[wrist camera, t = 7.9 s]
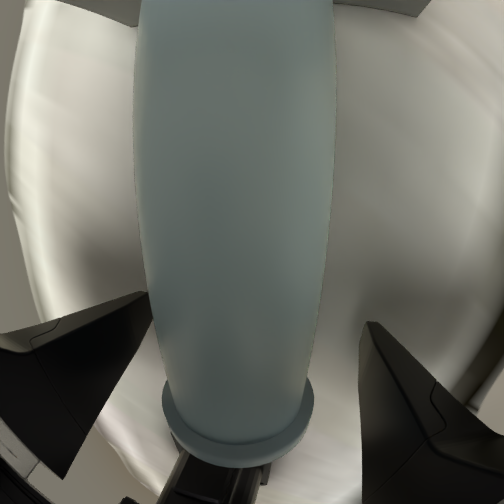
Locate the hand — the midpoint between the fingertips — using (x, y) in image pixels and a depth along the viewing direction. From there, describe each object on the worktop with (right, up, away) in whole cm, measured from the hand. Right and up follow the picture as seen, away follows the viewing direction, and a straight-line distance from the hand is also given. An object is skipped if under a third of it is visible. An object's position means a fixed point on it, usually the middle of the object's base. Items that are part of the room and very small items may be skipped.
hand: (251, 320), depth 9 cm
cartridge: (0, +3, -1) cm, 4 cm away
